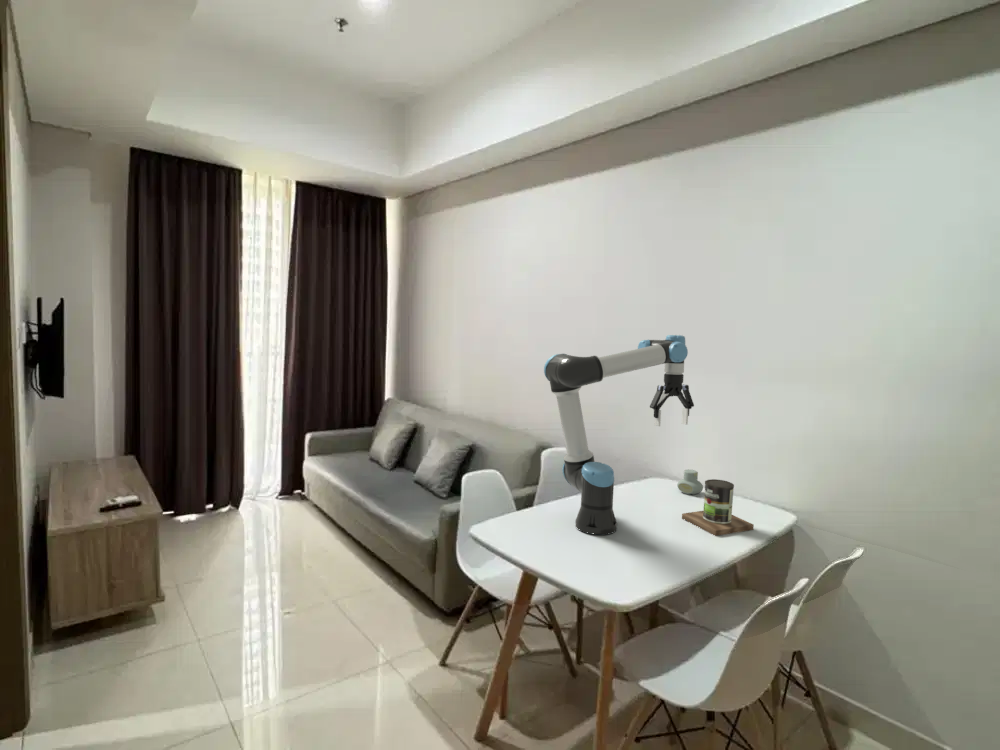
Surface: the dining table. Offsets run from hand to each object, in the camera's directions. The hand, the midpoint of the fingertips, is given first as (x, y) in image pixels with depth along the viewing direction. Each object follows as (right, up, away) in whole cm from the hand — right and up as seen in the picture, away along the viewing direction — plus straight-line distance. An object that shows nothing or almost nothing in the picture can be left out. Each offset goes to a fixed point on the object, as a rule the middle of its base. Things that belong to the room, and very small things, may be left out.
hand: (671, 424), depth 223 cm
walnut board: (+13, -37, -15) cm, 41 cm away
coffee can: (+13, -35, -15) cm, 40 cm away
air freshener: (+16, -33, +23) cm, 43 cm away
